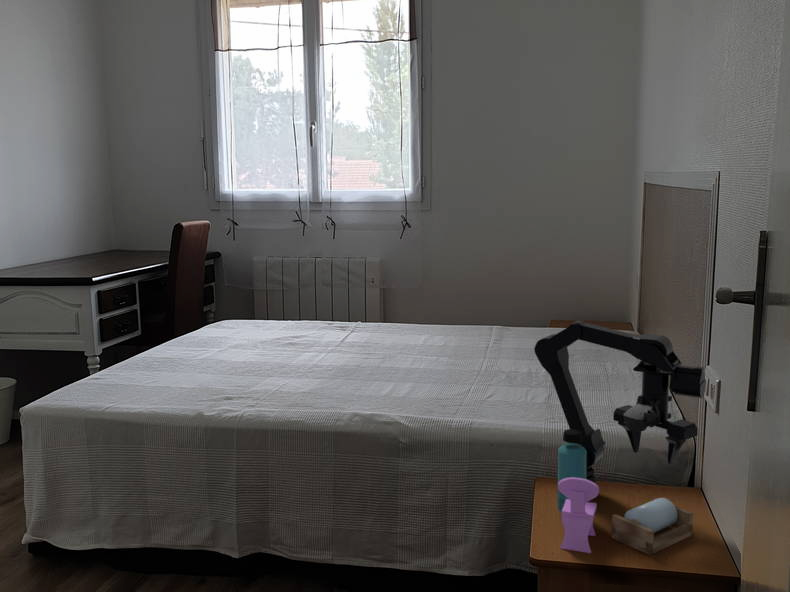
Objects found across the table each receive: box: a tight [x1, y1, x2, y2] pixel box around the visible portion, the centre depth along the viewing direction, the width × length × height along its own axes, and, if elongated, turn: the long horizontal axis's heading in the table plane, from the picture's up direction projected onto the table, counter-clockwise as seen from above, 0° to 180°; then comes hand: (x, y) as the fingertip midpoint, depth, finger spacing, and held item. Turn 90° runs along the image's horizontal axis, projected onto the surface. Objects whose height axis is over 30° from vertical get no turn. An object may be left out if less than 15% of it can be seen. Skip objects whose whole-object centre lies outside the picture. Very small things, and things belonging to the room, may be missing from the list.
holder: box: [611, 498, 694, 556], centre depth 160 cm, size 10×14×5 cm, turn 126°
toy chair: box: [557, 477, 600, 554], centre depth 158 cm, size 8×9×15 cm
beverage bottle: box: [557, 428, 587, 514], centre depth 169 cm, size 6×7×20 cm
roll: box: [623, 497, 677, 533], centre depth 160 cm, size 10×6×6 cm, turn 126°
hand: (652, 457), depth 173 cm, fingers open, 9 cm apart
